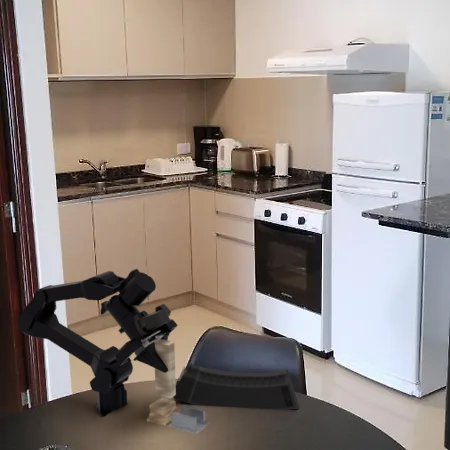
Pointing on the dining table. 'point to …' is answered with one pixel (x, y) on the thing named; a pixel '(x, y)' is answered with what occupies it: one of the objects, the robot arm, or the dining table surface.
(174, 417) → the rack
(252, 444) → the dining table surface
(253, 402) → the black curved panel
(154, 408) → the offcut stack
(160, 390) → the beige rectangular block
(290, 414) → the dining table surface
